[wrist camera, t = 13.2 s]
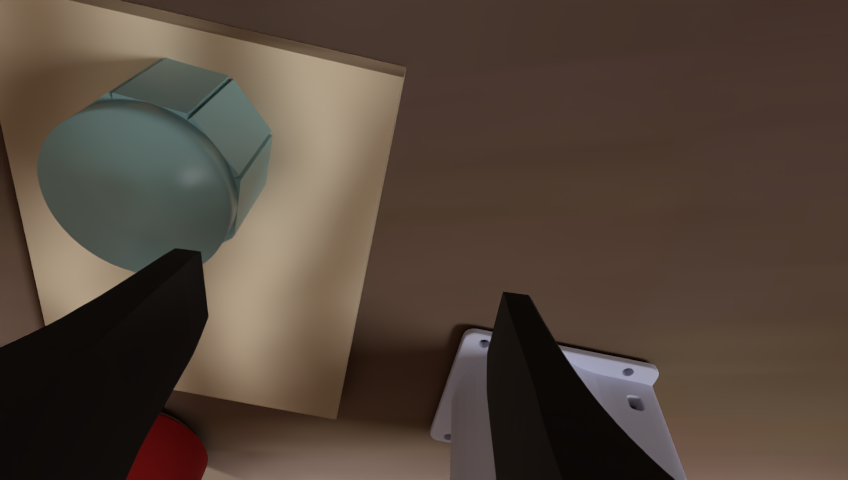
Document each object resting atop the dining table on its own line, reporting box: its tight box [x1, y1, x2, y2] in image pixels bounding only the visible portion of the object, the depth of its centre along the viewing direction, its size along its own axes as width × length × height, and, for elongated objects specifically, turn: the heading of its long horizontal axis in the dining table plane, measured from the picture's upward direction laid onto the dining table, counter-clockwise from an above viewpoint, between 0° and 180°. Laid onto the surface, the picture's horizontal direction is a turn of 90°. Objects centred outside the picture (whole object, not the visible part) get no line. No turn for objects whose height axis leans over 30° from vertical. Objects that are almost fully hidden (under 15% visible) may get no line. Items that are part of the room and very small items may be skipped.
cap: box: [37, 58, 273, 272], centre depth 18 cm, size 6×6×4 cm
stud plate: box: [0, 0, 407, 420], centre depth 22 cm, size 14×18×4 cm
